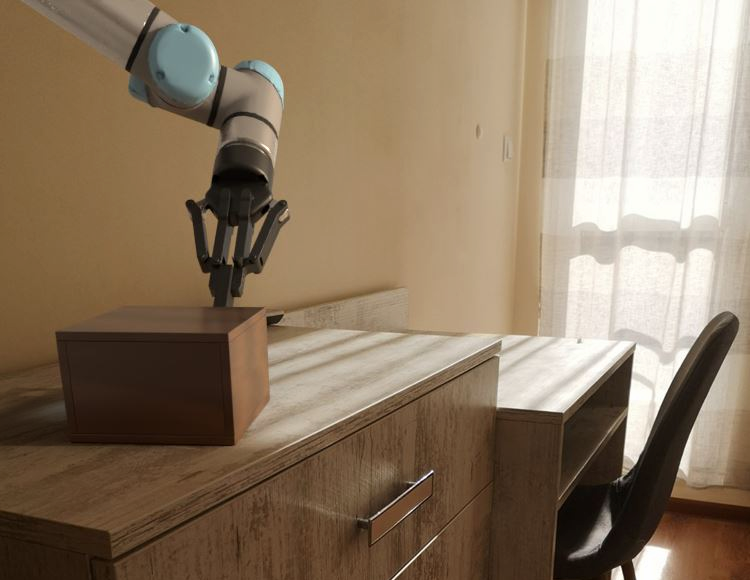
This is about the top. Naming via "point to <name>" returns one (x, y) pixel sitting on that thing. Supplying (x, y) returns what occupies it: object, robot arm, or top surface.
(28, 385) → the top surface
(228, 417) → the cabinet
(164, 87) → the robot arm
